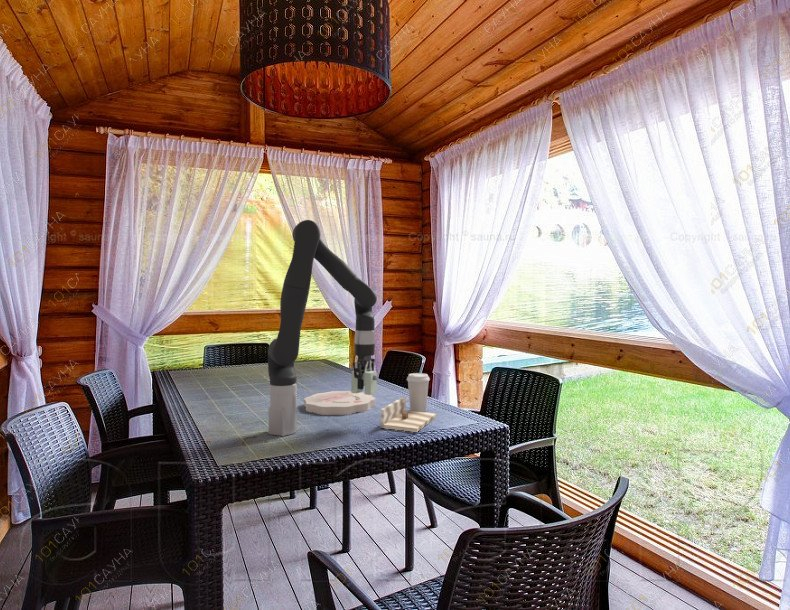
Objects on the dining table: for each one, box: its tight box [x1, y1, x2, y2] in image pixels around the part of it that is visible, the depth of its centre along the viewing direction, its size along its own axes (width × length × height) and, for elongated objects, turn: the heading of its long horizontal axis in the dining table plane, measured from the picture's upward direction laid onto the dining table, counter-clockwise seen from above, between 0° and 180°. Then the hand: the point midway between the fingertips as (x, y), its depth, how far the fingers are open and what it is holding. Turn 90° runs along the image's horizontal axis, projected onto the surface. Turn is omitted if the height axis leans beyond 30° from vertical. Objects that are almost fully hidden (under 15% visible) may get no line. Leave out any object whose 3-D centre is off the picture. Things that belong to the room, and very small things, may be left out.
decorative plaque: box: [303, 390, 376, 416], centre depth 211 cm, size 30×4×30 cm
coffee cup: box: [406, 372, 431, 413], centre depth 203 cm, size 10×10×15 cm
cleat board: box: [380, 396, 437, 433], centre depth 185 cm, size 22×14×7 cm, turn 158°
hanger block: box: [350, 370, 378, 396], centre depth 183 cm, size 5×9×8 cm, turn 67°
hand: (363, 387), depth 183 cm, fingers closed on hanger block, 5 cm apart
